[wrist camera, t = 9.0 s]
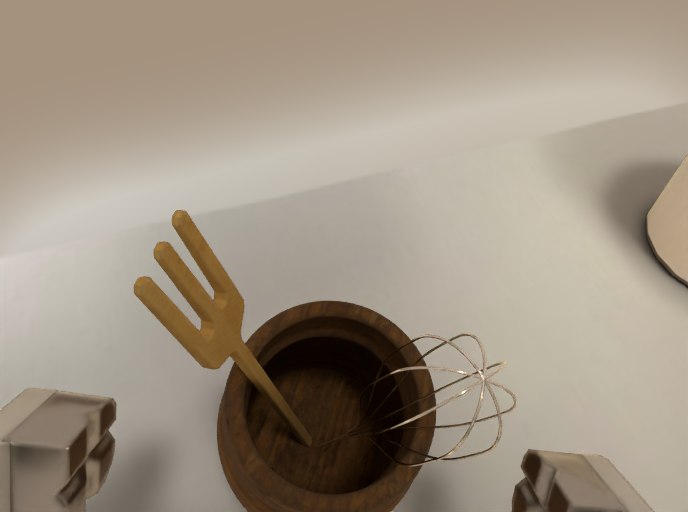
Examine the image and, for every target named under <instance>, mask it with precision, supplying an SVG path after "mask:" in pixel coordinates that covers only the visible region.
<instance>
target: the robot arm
mask: <svg viewBox="0 0 688 512" xmlns="http://www.w3.org/2000/svg"><path fill="white" fill-rule="evenodd" d="M115 420H116V402H115V401H114V399H113V398H107V397H100V396H93V395H86V394H79V393H72V392H65V391H58V390H51V389H41V388H29V389H26V390H25V391H23V392H22V393H21V394H20V395H18V396H17V397H16V398H15V399H14V400H12V401H11V402H10V403H9V404H7V405H6V406H5V407H4V408H2V409H1V410H0V512H86V499H88V498H90V497H91V496H93V495H95V494H97V493H98V492H99V490H100V489H101V487H102V486H103V484H104V482H105V481H106V478H107V476H108V473H109V470H110V468H111V465H112V461H113V456H114V450H115V439H114V438H113V436H112V435H111V433H110V432H109V430H108V429H109V428H110V427H111V425H112V424H113V423H114V421H115ZM521 469H522V471H523V473H524V475H525V478H524V479H523V480H521V481H520V482H519V483H518V484H517V485H516V486H515V489H514V493H513V497H512V512H654V511H653V510H652V508H651V507H650V506H649V505H648V504H647V503H646V502H645V500H644V499H643V498H642V497H641V496H640V495H639V494H638V492H637V491H636V490H635V489H634V488H633V487H632V486H631V485H630V483H629V482H628V481H627V480H626V479H625V478H624V477H623V475H622V474H621V473H620V472H619V471H618V470H617V469H616V468H615V466H614V465H613V464H612V463H611V462H610V461H609V460H608V459H607V458H605V457H603V456H600V455H587V454H572V453H562V452H552V451H541V450H531V449H528V451H527V452H526V454H525V455H524V457H523V461H522V464H521Z"/></svg>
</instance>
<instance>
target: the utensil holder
mask: <svg viewBox="0 0 688 512" xmlns="http://www.w3.org/2000/svg"><path fill="white" fill-rule="evenodd" d="M172 225H173V227H174V228H175V230H176V231H177V233H178V235H179V236H180V238H181V239H182V241H183V242H184V244H185V246H186V247H187V249H188V250H189V252H190V253H191V255H192V257H193V258H194V260H195V261H196V263H197V264H198V266H199V268H200V269H201V271H202V272H203V274H204V276H205V277H206V279H207V280H208V282H209V283H210V285H211V287H212V288H213V290H214V300H212V298H211V297H210V296H209V295H208V293H207V292H206V291H205V289H204V288H203V287H202V285H201V284H200V283H199V281H198V280H197V279H196V278H195V276H194V275H193V274H192V272H191V271H190V270H189V268H188V267H187V266H186V264H185V263H184V262H183V260H182V259H181V258H180V257H179V255H178V254H177V253H176V251H175V250H174V249H173V247H172V246H171V245H170V244H169V243H168V242H159V243H157V245H156V247H155V248H154V258H155V259H156V261H157V262H158V263H159V265H160V266H161V267H162V269H163V270H164V271H165V273H166V274H167V275H168V277H169V278H170V279H171V280H172V282H173V283H174V284H175V286H176V287H177V288H178V290H179V291H180V292H181V294H182V295H183V296H184V298H185V299H186V300H187V302H188V303H189V304H190V306H191V307H192V308H193V309H194V311H195V312H196V313H197V315H198V316H199V317H200V319H201V329H200V331H199V330H198V329H197V328H196V327H195V326H194V325H193V324H192V323H191V322H190V321H189V320H188V318H187V317H186V316H185V315H184V314H183V313H182V312H181V311H180V310H179V309H178V307H177V306H176V305H175V304H174V303H173V302H172V301H171V300H170V299H169V298H168V296H167V295H166V294H165V293H164V292H163V291H162V290H161V289H160V288H159V287H158V286H157V284H156V283H155V282H154V281H153V280H152V279H151V278H150V277H146V276H144V277H139V278H138V279H137V281H136V282H135V284H134V294H135V295H136V296H137V297H138V298H139V299H140V300H141V302H142V303H143V304H144V305H145V306H146V307H147V308H148V309H149V310H150V311H151V312H152V313H153V314H154V316H155V317H156V318H157V319H158V320H159V321H160V322H161V323H162V324H163V325H164V326H165V327H166V328H167V329H168V331H169V332H170V333H171V334H172V335H173V336H174V337H175V338H176V339H177V340H178V341H179V342H180V343H181V345H182V346H183V347H184V348H185V349H186V350H187V351H188V352H189V353H190V354H191V355H192V356H193V357H194V359H195V360H196V361H197V362H198V363H199V364H200V365H201V366H202V367H204V368H209V369H213V370H214V369H219V368H220V367H221V366H222V364H223V363H224V362H225V361H226V359H227V358H228V357H229V356H231V357H232V359H233V360H234V361H235V362H234V364H233V367H232V369H231V371H230V374H229V377H228V380H227V383H226V387H225V391H224V394H223V396H222V400H221V404H220V408H219V414H218V422H217V442H218V450H219V456H220V460H221V464H222V467H223V470H224V473H225V476H226V478H227V481H228V483H229V485H230V487H231V489H232V491H233V492H234V494H235V495H236V497H237V499H238V500H239V501H240V503H241V504H242V505H243V507H244V508H245V509H246V510H247V511H248V512H391V511H392V510H393V508H394V507H395V506H396V505H397V504H398V503H399V502H400V501H401V499H402V498H403V497H404V495H405V494H406V492H407V491H408V489H409V487H410V486H411V484H412V482H413V480H414V479H415V477H416V476H417V474H418V472H419V471H420V469H421V467H422V465H423V464H427V463H431V462H435V461H439V460H442V461H454V460H461V459H466V458H470V457H474V456H478V455H482V454H485V453H487V452H490V451H491V450H493V449H494V448H495V447H496V445H497V444H498V442H499V439H500V437H501V432H502V419H501V415H504V414H506V413H509V412H511V411H512V410H513V409H514V408H515V407H516V404H517V400H516V397H515V396H514V394H513V393H512V392H511V391H509V390H508V389H507V388H505V387H503V386H502V385H500V384H498V383H496V382H493V381H491V380H488V378H490V377H491V376H493V375H494V374H495V373H497V372H498V371H500V370H501V369H502V368H503V367H504V366H505V365H506V362H505V361H502V362H499V363H496V364H493V365H491V366H489V367H486V357H485V351H484V348H483V345H482V343H481V342H480V340H479V339H478V338H477V337H476V336H474V335H472V334H469V333H463V334H460V335H457V336H455V337H453V338H451V339H449V340H447V339H445V338H442V337H439V336H435V335H421V336H419V337H416V338H414V339H412V340H410V339H409V337H408V336H407V335H406V334H405V333H404V332H403V331H402V330H401V329H400V328H399V327H397V326H396V325H395V324H394V323H392V322H391V321H390V320H388V319H387V318H385V317H384V316H382V315H380V314H378V313H377V312H375V311H372V310H370V309H368V308H365V307H363V306H360V305H356V304H352V303H347V302H341V301H317V302H310V303H306V304H301V305H298V306H295V307H292V308H290V309H287V310H285V311H283V312H281V313H279V314H278V315H276V316H274V317H273V318H271V319H270V320H268V321H267V322H266V323H265V324H263V325H262V326H261V327H260V328H259V329H258V330H257V331H256V332H255V333H254V334H253V335H252V336H251V337H250V338H249V339H248V341H247V342H246V343H244V342H243V341H242V339H241V326H242V320H243V313H244V300H243V298H242V296H241V295H240V293H239V291H238V290H237V288H236V287H235V285H234V284H233V282H232V281H231V279H230V278H229V276H228V274H227V273H226V271H225V270H224V268H223V267H222V265H221V264H220V262H219V261H218V259H217V258H216V256H215V255H214V253H213V251H212V250H211V248H210V247H209V245H208V244H207V242H206V241H205V239H204V238H203V236H202V235H201V233H200V232H199V230H198V228H197V227H196V225H195V224H194V222H193V221H192V219H191V218H190V216H189V215H188V213H187V212H186V211H183V210H177V211H175V213H174V214H173V216H172ZM461 336H471V337H473V338H474V339H476V341H477V342H478V343H479V345H480V347H481V351H482V355H483V369H482V370H479V368H478V367H477V366H476V364H475V363H474V362H473V361H472V359H471V358H470V357H469V356H468V355H467V354H466V353H465V352H464V351H463V350H462V349H460V348H459V347H458V346H457V345H455V344H454V343H452V342H450V341H452V340H454V339H456V338H459V337H461ZM424 337H432V338H437V339H440V340H443V341H445V342H444V343H442V344H440V345H438V346H436V347H435V348H433V349H431V350H430V351H428V352H427V353H426V354H424V355H423V356H421V354H420V352H419V351H418V349H417V348H416V346H415V345H414V344H413V342H414V341H416V340H418V339H420V338H424ZM447 343H449V344H450V345H452V346H454V347H455V348H456V349H457V350H459V351H460V352H461V353H462V354H463V355H464V356H465V357H466V358H467V359H468V360H469V361H470V362H471V364H472V365H473V366H474V368H475V369H476V370H477V372H475V373H472V374H471V373H468V372H464V371H460V370H455V369H450V368H443V367H431V366H426V363H425V361H424V359H423V358H424V357H425V356H427V355H428V354H429V353H431V352H432V351H434V350H436V349H437V348H439V347H441V346H443V345H445V344H447ZM501 364H502V365H501ZM498 365H501V366H500V367H499V368H497V369H496V370H495V371H493V372H492V373H490V374H489V375H487V376H486V370H488V369H490V368H493V367H495V366H498ZM428 369H434V370H444V371H450V372H456V373H460V374H464V375H468V376H466V377H463V378H461V379H459V380H457V381H455V382H452V383H450V384H448V385H446V386H444V387H442V388H440V389H438V390H436V391H434V387H433V383H432V379H431V376H430V373H429V370H428ZM481 372H483V374H482V373H481ZM478 373H479V375H480V376H481V377H480V376H477V375H476V374H478ZM469 377H475V378H478V379H481V380H480V381H478V382H476V383H475V384H473V385H472V386H470V387H468V388H467V389H465V390H463V391H462V392H460V393H458V394H456V395H455V396H453V397H451V398H449V399H448V400H446V401H444V402H442V403H440V404H438V405H437V406H436V399H435V393H437V392H439V391H441V390H443V389H445V388H447V387H449V386H451V385H453V384H455V383H458V382H460V381H462V380H464V379H467V378H469ZM484 379H485V380H484ZM480 383H482V389H481V394H480V399H479V403H478V407H477V410H476V413H475V416H474V418H473V420H472V422H468V423H463V424H456V425H446V426H435V423H436V409H437V408H439V407H441V406H443V405H445V404H447V403H448V402H450V401H452V400H454V399H455V398H457V397H459V396H461V395H462V394H464V393H466V392H467V391H469V390H471V389H472V388H474V387H476V386H477V385H479V384H480ZM488 383H491V384H493V385H495V386H497V387H500V388H501V389H503V390H505V391H506V392H507V393H509V394H510V395H511V396H512V398H513V399H514V404H513V406H512V407H511V408H510V409H509V410H507V411H504V412H502V413H500V409H499V406H498V403H497V400H496V398H495V396H494V394H493V391H492V389H491V388H490V386H489V384H488ZM485 384H486V386H487V388H488V390H489V392H490V394H491V396H492V398H493V400H494V403H495V406H496V409H497V413H498V414H496V415H493V416H490V417H486V418H483V419H480V420H476V419H477V416H478V413H479V410H480V407H481V403H482V400H483V394H484V389H485ZM495 417H498V418H499V432H498V436H497V439H496V441H495V443H494V445H493V446H492V447H491V448H489V449H487V450H485V451H482V452H479V453H475V454H471V455H467V456H463V457H457V458H446V457H448V456H450V455H451V454H453V453H454V452H455V451H456V450H457V449H458V448H459V447H460V446H461V444H462V443H463V442H464V441H465V439H466V438H467V436H468V435H469V433H470V431H471V429H472V427H473V426H474V423H478V422H482V421H485V420H488V419H492V418H495ZM470 424H471V425H470ZM465 425H470V427H469V429H468V430H467V432H466V434H465V435H464V437H463V438H462V440H461V441H460V442H459V443H458V444H457V446H456V447H455V448H454V449H453V450H451V451H450V452H449V453H447V454H446V455H444V456H441V457H439V458H437V457H433V456H429V455H427V454H428V452H429V449H430V446H431V443H432V439H433V436H434V430H435V428H449V427H458V426H465ZM426 457H428V458H431V460H428V461H425V459H426Z"/></svg>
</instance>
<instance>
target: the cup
mask: <svg viewBox="0 0 688 512" xmlns="http://www.w3.org/2000/svg"><path fill="white" fill-rule="evenodd" d="M646 237H647V239H648V241H649V244H650V246H651V248H652V250H653V252H654V254H655V257H656V258H657V259H658V260H659V261H660V262H661V263H662V264H663V266H664V267H665V268H666V269H667V270H668V271H669V272H670V273H671V274H672V276H674V277H675V278H677V279H678V280H680V281H681V282H683V283H684V284H686V285H687V286H688V154H687V156H686V157H685V159H684V160H683V162H682V163H681V165H680V166H679V168H678V169H677V171H676V172H675V174H674V175H673V176H672V178H671V179H670V181H669V182H668V184H667V185H666V187H665V188H664V190H663V191H662V193H661V194H660V196H659V197H658V199H657V200H656V202H655V203H654V205H653V206H652V208H651V209H650V211H649V213H648V214H647V218H646Z"/></svg>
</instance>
